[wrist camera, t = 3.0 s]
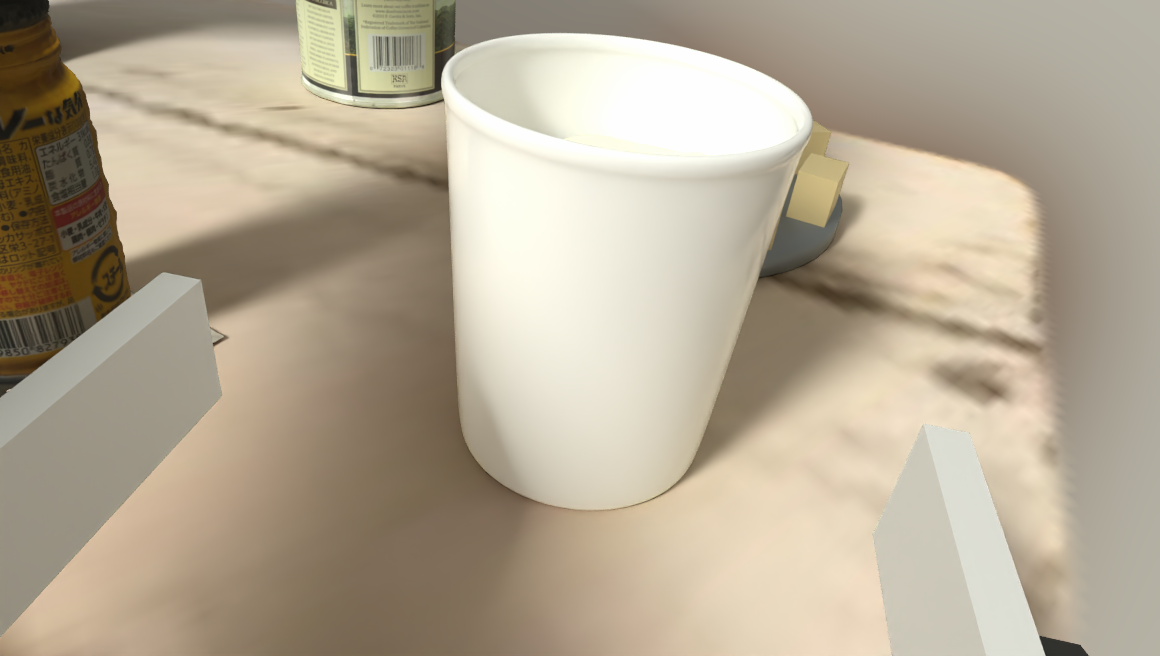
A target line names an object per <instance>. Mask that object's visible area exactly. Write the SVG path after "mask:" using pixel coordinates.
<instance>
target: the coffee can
mask: <svg viewBox="0 0 1160 656" xmlns="http://www.w3.org/2000/svg"><path fill="white" fill-rule="evenodd" d="M296 10H297V21H298V32H299V42H300V53H301V64H302V77H301V80H302V84H303V86H304V87H305V88H306V89H307V90H309V91H310V92H311V93H313V94H315V95H317V96H319V97H321V98H324V99H327V100H331V101H334V102H338V103H341V104H347V105H353V106H358V107H367V108H406V107H414V106H421V105H426V104H430V103H434V102H436V101H439V100H442V99H444V98H443V94H442V88H441V77H442V72H443V69H444V67H445V65H446V63H447V62H448V61H449V60H450V59H451V58H452V57H453V56H454V55H455V37H454V35H455V0H296Z"/></svg>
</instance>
